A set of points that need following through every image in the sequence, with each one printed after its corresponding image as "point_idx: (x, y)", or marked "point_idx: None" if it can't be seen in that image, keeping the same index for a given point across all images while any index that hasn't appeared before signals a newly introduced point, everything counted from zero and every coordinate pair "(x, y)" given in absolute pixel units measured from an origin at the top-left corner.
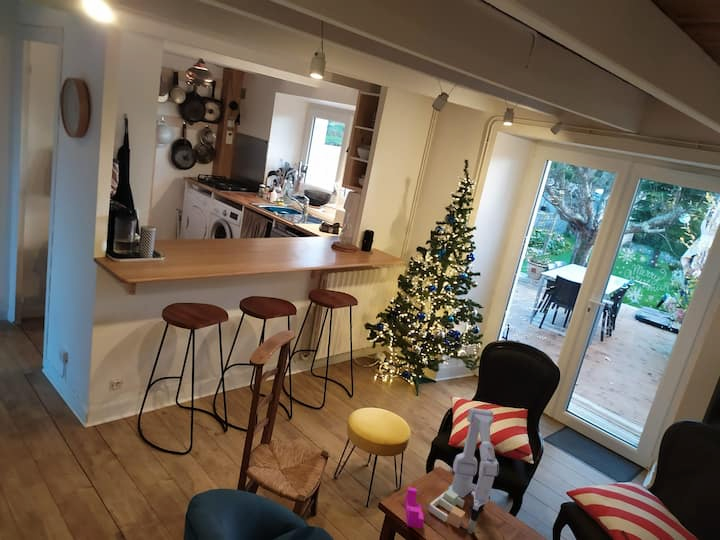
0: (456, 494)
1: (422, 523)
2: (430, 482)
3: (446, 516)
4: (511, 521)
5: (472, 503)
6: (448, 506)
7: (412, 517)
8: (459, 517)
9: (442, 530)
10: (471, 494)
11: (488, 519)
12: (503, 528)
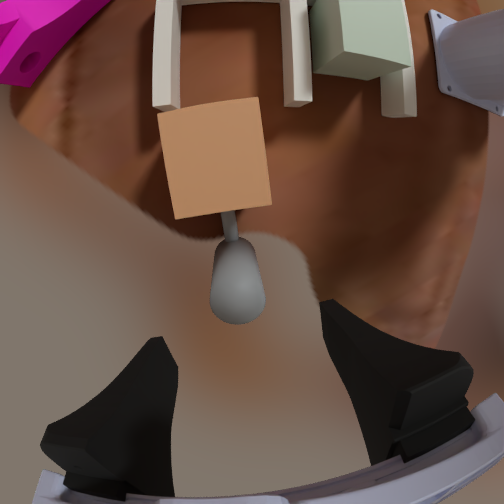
0: (402, 50)
1: (10, 84)
2: None
3: (153, 106)
4: (441, 324)
5: (90, 463)
6: (288, 51)
7: None
8: (173, 203)
9: (94, 150)
10: (156, 501)
11: (401, 265)
12: (388, 333)
